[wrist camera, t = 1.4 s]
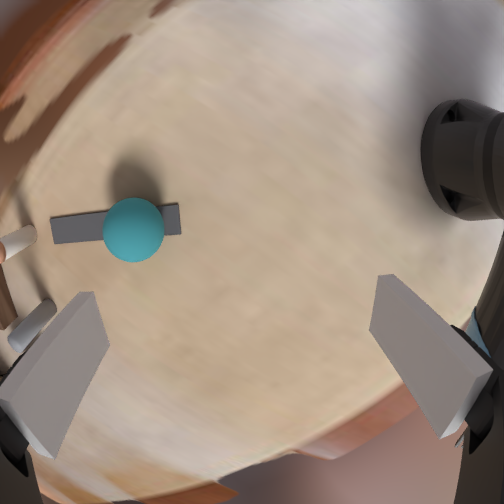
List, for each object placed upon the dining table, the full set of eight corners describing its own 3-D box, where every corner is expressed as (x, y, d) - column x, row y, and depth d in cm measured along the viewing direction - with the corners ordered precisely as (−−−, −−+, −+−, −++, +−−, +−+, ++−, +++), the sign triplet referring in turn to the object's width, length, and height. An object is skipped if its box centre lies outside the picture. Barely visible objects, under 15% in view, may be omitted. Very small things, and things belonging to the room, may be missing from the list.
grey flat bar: (178, 204, 28) (178, 205, 28) (181, 233, 29) (181, 234, 29) (50, 218, 27) (49, 219, 27) (55, 243, 28) (54, 244, 28)
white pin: (35, 223, 27) (-13, 247, 19) (39, 243, 28) (-6, 271, 19) (22, 225, 27) (-25, 248, 19) (26, 244, 28) (-19, 271, 19)
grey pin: (53, 298, 30) (17, 336, 22) (58, 314, 31) (25, 353, 23) (41, 298, 30) (4, 334, 22) (46, 314, 31) (12, 351, 23)
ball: (167, 190, 27) (150, 200, 22) (173, 248, 29) (159, 271, 24) (113, 196, 27) (86, 207, 21) (121, 251, 29) (98, 273, 23)
